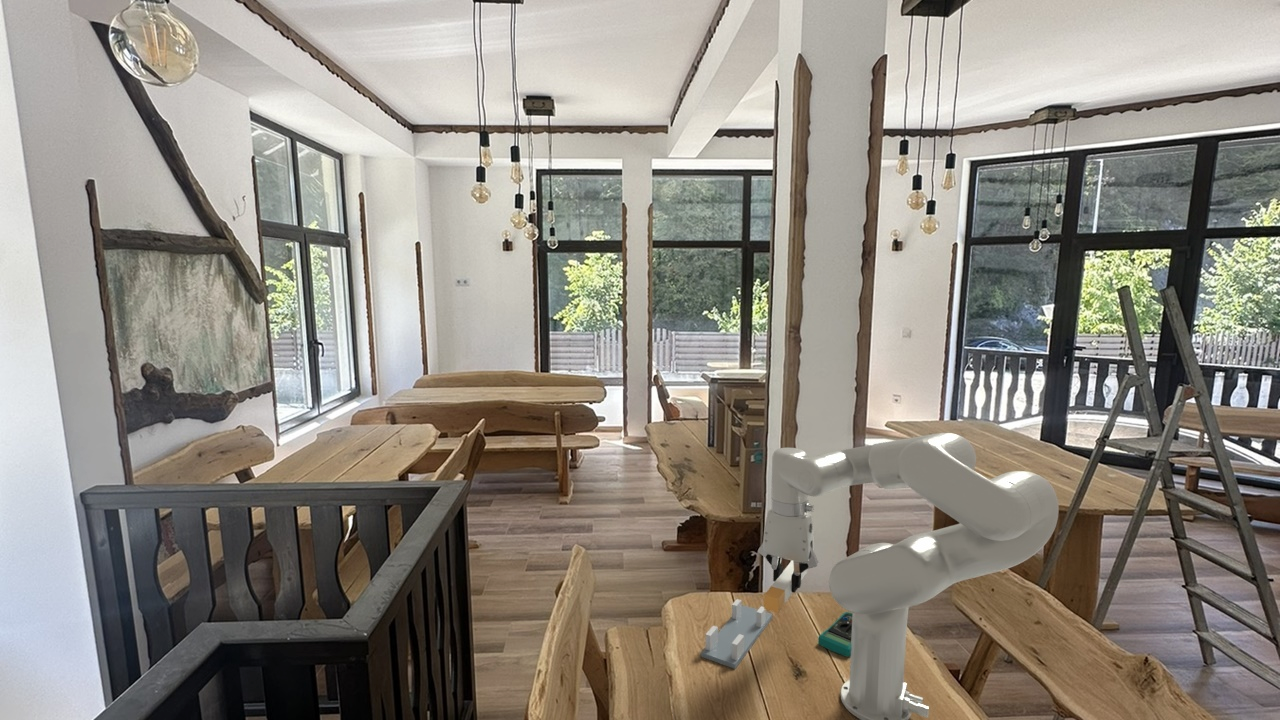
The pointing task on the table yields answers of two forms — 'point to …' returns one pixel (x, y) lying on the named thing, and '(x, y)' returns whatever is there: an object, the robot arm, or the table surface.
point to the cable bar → (780, 590)
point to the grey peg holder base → (735, 635)
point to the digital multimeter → (838, 635)
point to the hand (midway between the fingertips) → (786, 586)
